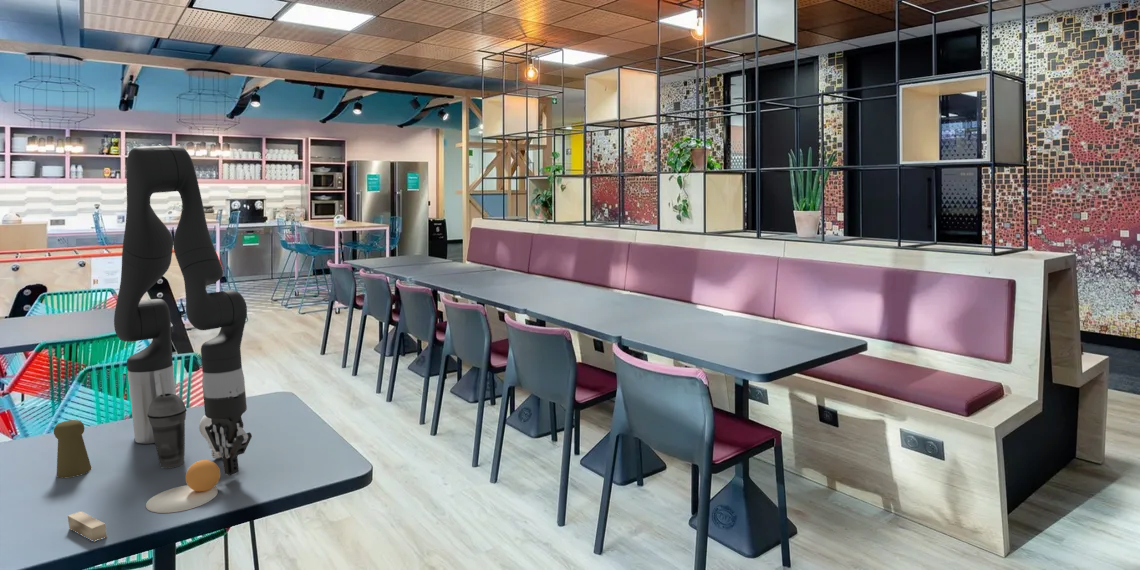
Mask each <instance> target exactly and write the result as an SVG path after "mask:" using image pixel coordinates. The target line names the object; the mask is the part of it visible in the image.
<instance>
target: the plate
mask: <svg viewBox="0 0 1140 570" xmlns="http://www.w3.org/2000/svg"><path fill="white" fill-rule="evenodd" d="M218 492H219V491H218V488H217V487H216V486H214V487H213V488H211V489H210V490H207V491H203V492H198V491H195V490H192V489H191V488H190V487H189V486H188V485H187V484H186V485H181V486H176V487H173V488H170V489H167V490H164V491H162V492H159V493H156V495H154V496H152V497H151V498H149V499H148V500H147V501H146V503H145V507H146V509H147V510H148V511H149V512H152V513H158V514H168V513H169V514H171V513H179V512H184V511H189V510H192V509H194V508H198V507H200V506H203V505H205V504H207V503H209V502H211V501H212V500H213V499H214V498H216V497H217V495H218Z"/></svg>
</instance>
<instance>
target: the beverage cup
mask: <svg viewBox="0 0 1140 570" xmlns="http://www.w3.org/2000/svg"><path fill="white" fill-rule="evenodd" d="M159 376H160V382H161V389H162V395H160V396H158V397H156V398H155V399H154V400H153V401H152V402H151V404H150V406H149V409H148V417H149V421H150V424H151V426H152V430H153V435H154V440H155V443H154V444H155V449H156V454H157V457H158V458H157V459H158V461H159V465H160V468H161V469H173V468H177V467H179V466H182V465H184V463H185V456H186V455H185V454H186V453H185V450H186V447H185V444H186V442H185V441H186V439H185V438H186V437H185V436H186V434H185V432H186V431H185V429H186V428H185V425H186V424H185V422H186V418H187V413H186V412H187V411H188V410H187V408H186V405H185V402H184V400H183V399H182V398H181V397H180V396H178V395H177V394H176V395H174V394H169V393H168V394H165V390H164V384H163V378H162V373H160V374H159Z"/></svg>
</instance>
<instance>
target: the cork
mask: <svg viewBox="0 0 1140 570" xmlns="http://www.w3.org/2000/svg"><path fill="white" fill-rule="evenodd" d="M84 432H85V424H84V423H83V422H82V421H81V420H78V419H70V420H65V421H62V422H59V423H57V424H55V426H54V428H53V435H54V436H55V438H56V440H57V453H56V454H57V456H56V457H57V458H56V476H58V477H57V478H59V477H63V478H62V479H66V478H65V477H69V478H74V477H73V476H75V477H78V476H77V475H79V476H82V475H84V473H85V474H87V473H89V472H90V471H91V470H92V469H91V468H92V466H91V465H92V464H91V461H90V457H89V454H88V451H87V449H86V448H87V447H86V445H85V441H84V437H83V433H84ZM86 472H87V473H86ZM81 474H82V475H81Z"/></svg>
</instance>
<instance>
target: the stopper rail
mask: <svg viewBox="0 0 1140 570" xmlns="http://www.w3.org/2000/svg"><path fill="white" fill-rule="evenodd" d="M67 519H68V520H67V521H68V529H69V528H70V529H72V530H74V531H76V532H78V533H79V534H82V535H83V536H85V537H87V538H89V539H91V540H93V541H95V540H97V539H101V538H104V537H107V538H108V536H107V526H106V523H105V522H103V521H101V520H99V519H97V518H95V517H93V516H91V515H90V514H87V513H86V512H84V511H81V510H80V511H76V512H74V513H71V514H68V515H67ZM70 529H69V530H70ZM72 530H71V531H72ZM74 531H73V532H74ZM76 532H75V533H76ZM79 534H78V535H79ZM83 536H82V537H83ZM85 537H84V538H85ZM104 539H105V538H104Z"/></svg>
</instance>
